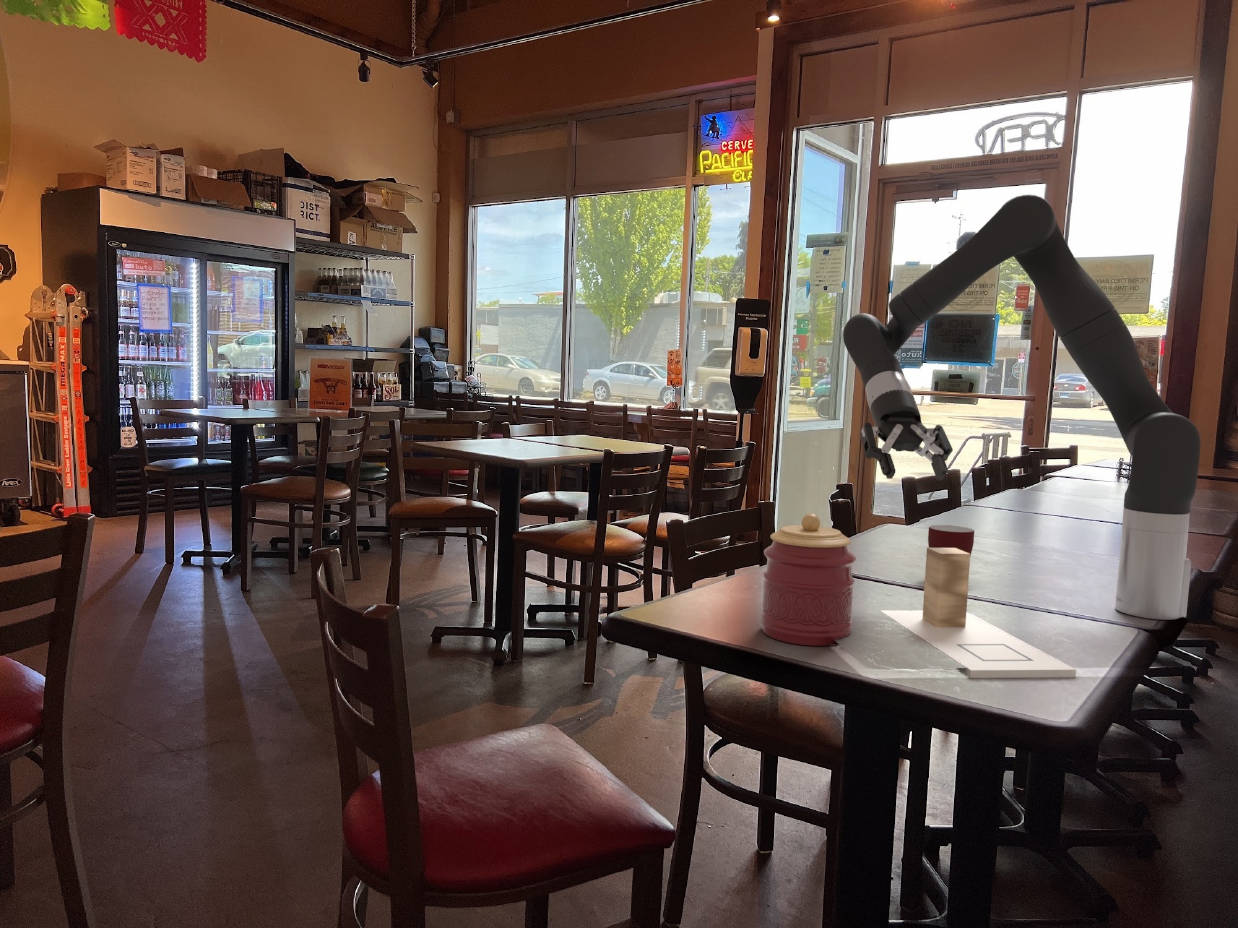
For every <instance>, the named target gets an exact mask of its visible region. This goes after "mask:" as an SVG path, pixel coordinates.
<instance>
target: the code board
mask: <svg viewBox="0 0 1238 928" xmlns="http://www.w3.org/2000/svg"><path fill="white" fill-rule="evenodd" d="M879 612H881V613H883V615H886V616H887V617H888V618H890V619H892V620H893V621H895V622H896V623H898V624H900V625H901V626H903V628H905V629H907V630H909V631H910V632H912V633H913V634H915V635H916V636H918V637H919V638H920V639H922V640H924V641H926V642H927V643H928V644H930V645H931V646H933V647H935V648H936V649H937V650H939V651H941V652H942V653H943V654H945V655H946V656H948V657H950V658H952V659H953V660H954V661H956V662H958V663H959V664H960V665H962V666H963V667H955V669H956V670H958V671H959V672H961V673H962V674H964V675H965V676H967V677H968V678H970V679H1007V678H1009V679H1010V678H1011V679H1012V678H1013V679H1014V678H1015V679H1016V678H1017V679H1018V678H1019V679H1022V678H1023V679H1025V678H1027V679H1029V678H1030V679H1032V678H1033V679H1034V678H1037V679H1038V678H1043V679H1044V678H1076V675H1077V668H1074V667H1072V666H1071V665H1069V664H1067V663H1066V662H1063V661H1061V660H1059V659H1057V658H1056V657H1053V656H1051V655H1050V654H1048V653H1046V652H1044V651H1042V650H1040V649H1038V648H1037V647H1034V646H1033V645H1030V644H1028V643H1027V642H1026V641H1023V640H1021V639H1019V638H1017V637H1015V636H1014V635H1012V634H1010V633H1008V632H1006V631H1004V630H1003V629H1000V628H999V627H996V626H994V625H992V624H991V623H989V622H987V621H985V620H983V619H982V618H979V617H977V616H976V615H973V614H972V613H971V612H968V611H966V626H965V627H935V626H934V625H932V624H930V623H929V622H927V621H926V620H924V619H922V618H923V609H921V610H914V609H913V610H896V609H895V610H885V609H884V610H879Z"/></svg>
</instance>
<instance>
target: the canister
mask: <svg viewBox="0 0 1238 928" xmlns="http://www.w3.org/2000/svg"><path fill="white" fill-rule="evenodd" d="M770 539H771V540H772V543H771V545H769V546H768V547H766V548H765V549H764V550H763V554H764V556H765V557H766V559H767V560H766V561H767V562H766V568H765V570H764V571H763V573H762V576H763V592H762V593H763V594H762V611H761V613H760V617H761V618H760V622H761V627H762V630H761V631H762V632H763V633H764V634H765V635H767V636H768V637H770V638H772V639H774V640H777V641H780V642H784V643H788V644H794V645H802V646H812V647H813V646H814V647H817V646H818V647H820V646H822V647H825V646H827V647H828V646H834V645H839V642H838V641H836V640H839V639H843V638H846V637H848V636H849V635H850V634H851V632H852V629H853V626H852V625H853V619H852V613H853V597H854V596H853V595H854V594H853V593H854V584H855V578H854V577H853V574H852V572H853V571H852V564H854V563H855V561H856V560H857V557H856V556H855V554H854V553H853V552H852V551H850V550H849V547H848V546H849V545H850V544H851V542H852V541H851V540H852V539H850V538H849V537H847V536H846V535H845V534H843V533H842V532H841V530H839V529H836V528H831V527H828V526H827V527H826V526H821V519H820V518H819V516H818V515H816V514H814V513H808V514H805V515H804V516H803V517H802V520H801V524H795V525H785V526H781V528H779V530H776V531H775V532H772V534H770Z"/></svg>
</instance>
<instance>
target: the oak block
mask: <svg viewBox="0 0 1238 928" xmlns="http://www.w3.org/2000/svg"><path fill="white" fill-rule="evenodd" d="M925 557H926V559H925V571H924V572H925V574H924V587H923V588H924V591H923V602H922V603H923V605H922V610H923V618H922V619H924V620H926V621H927V622H929V623H930V624H932V625H934V626H935V627H965V626H966V612H968V611H967V610H968V608H967V607H968V598H969V597H968V596H969V595H968V593H969V579H970V567H971V566H970V565H971V564H970V563H971V556H970V553H967V552H964V551H962V550H959V549H957V548H929V547H926V555H925Z"/></svg>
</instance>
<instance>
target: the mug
mask: <svg viewBox="0 0 1238 928" xmlns="http://www.w3.org/2000/svg"><path fill="white" fill-rule="evenodd" d="M974 543H975V530H974V529H973V528H969V527H967V526H966V527H965V526H959V525H951V524H943V525H942V524H935V525H933V524H932V525H929V526H928V535H927V544H928V548H957V549H959V550H962V551H964V552H967V553H970V557H972V556H971V555H972V552H973V548H974Z"/></svg>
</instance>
